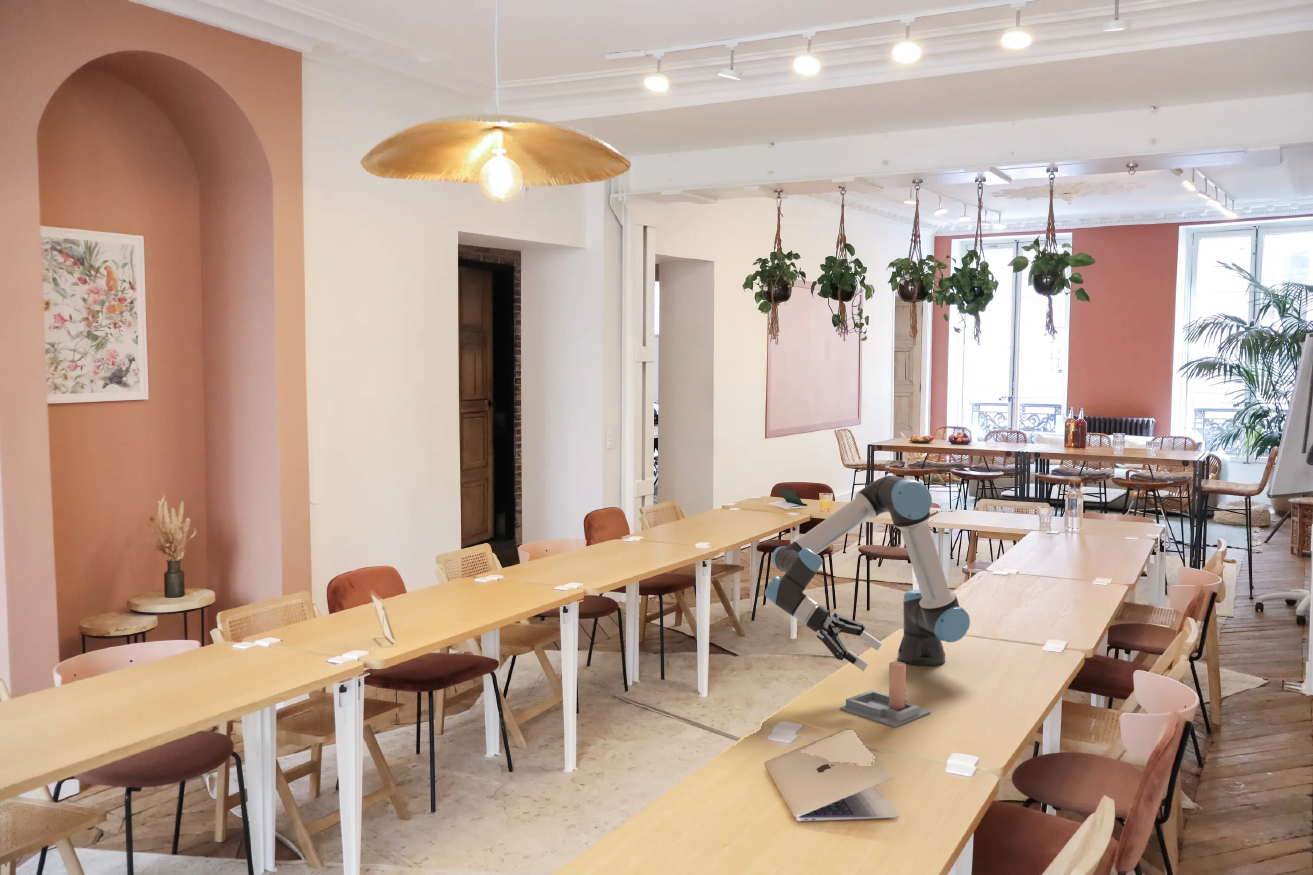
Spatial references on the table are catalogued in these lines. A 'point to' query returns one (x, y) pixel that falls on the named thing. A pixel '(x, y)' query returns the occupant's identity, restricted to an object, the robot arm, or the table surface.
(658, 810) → the table surface
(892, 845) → the table surface
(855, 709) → the keyhole board
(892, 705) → the tall peach cylinder
